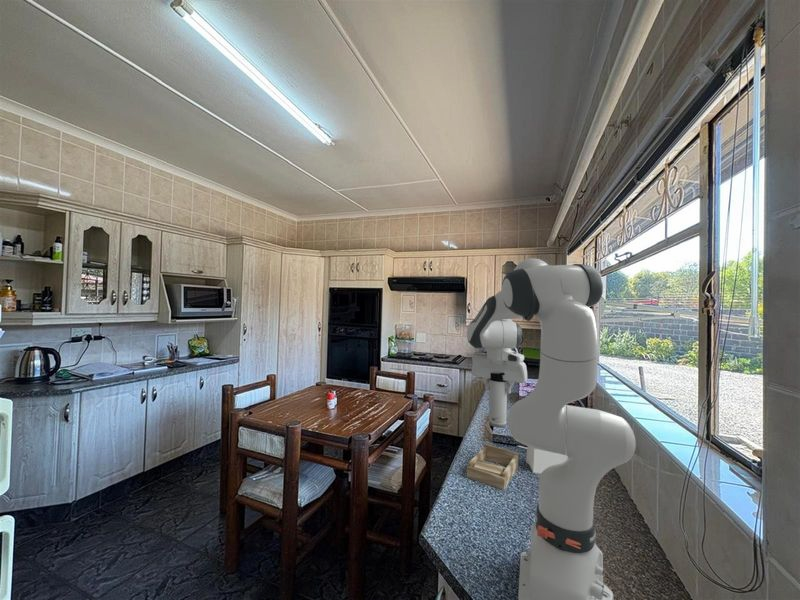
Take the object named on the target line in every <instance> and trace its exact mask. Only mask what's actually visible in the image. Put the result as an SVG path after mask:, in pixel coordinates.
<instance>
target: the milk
mask: <svg viewBox="0 0 800 600" xmlns="http://www.w3.org/2000/svg"><path fill="white" fill-rule="evenodd" d="M526 446H527V445H526ZM568 458H569V457H568V456H566V455H562V454H557V453H552V452H548V451H543V450H538V449H534V448H532V447H529V446H527V447H526V458H525V459H526V460H525V462H526V464H528V466H529V467H530V469H531V471H532V473H534V474H541V473H542V472H543V470H545V469H546V468H548V467H549V466H552V465H556V464H560V463H563V462H565V461H566V460H568Z"/></svg>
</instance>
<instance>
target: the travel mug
mask: <svg viewBox="0 0 800 600" xmlns="http://www.w3.org/2000/svg"><path fill="white" fill-rule="evenodd" d="M502 375H505V374H504V373H500V374H496V373H491V378H489V385H490V389H489V390H488V391H489V404H488V405H489V406H488V425H490V426H491V427H494V428H498V429H499V428H501V429H502V428H505V427H507V412H508V411H507V410H508V409H507V408H508V407H507V406H508V405H507V402H508V401H507V400H508V398H507V397H508V393H506V388H508V381H504V380H503V376H502Z"/></svg>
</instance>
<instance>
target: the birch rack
mask: <svg viewBox="0 0 800 600" xmlns="http://www.w3.org/2000/svg"><path fill="white" fill-rule="evenodd" d="M477 461H480V462H483V463H487V464H491V465H495V466H498V467H502V468H503V473H502V476H499V475H496V474H493V473H490V472H487V471H483V470H480V469H477V468H474V466H475V464H476V463H477ZM489 461H490V462H489ZM492 462H493V463H492ZM496 463H497V464H496ZM467 464H468V465H467V466H466V478H468V479H472V480H475V481H476V482H479V483H482V484H486V485H488V486H491V487H494V488H497V489H500V490H503V491H505V490H506V488H507V487H508V485H509V483H510V482H511V480H512V478H513V477H514V475H515V473H516V472H517V471H518V469H519V452H518V451H517V452H516V451H514V450H510V449H506V448H502V447H499V446H496V445H492V444H488V443H484V444H483V446H482V447H481V449H480V450H479V451H478V452H477V453H476V454H475V455H474V456H473V457H471V459H470V460H469V461H468V463H467Z"/></svg>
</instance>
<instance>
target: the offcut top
mask: <svg viewBox="0 0 800 600" xmlns="http://www.w3.org/2000/svg"><path fill="white" fill-rule="evenodd" d="M474 468H477V469H480V470H483V471H487V472H490V473H493V474H496V475H499V476H502V473H503V468H502V467H498V466H495V465H491V464H487V463H483V462H480V461H477V463H476V464H475V466H474Z"/></svg>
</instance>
